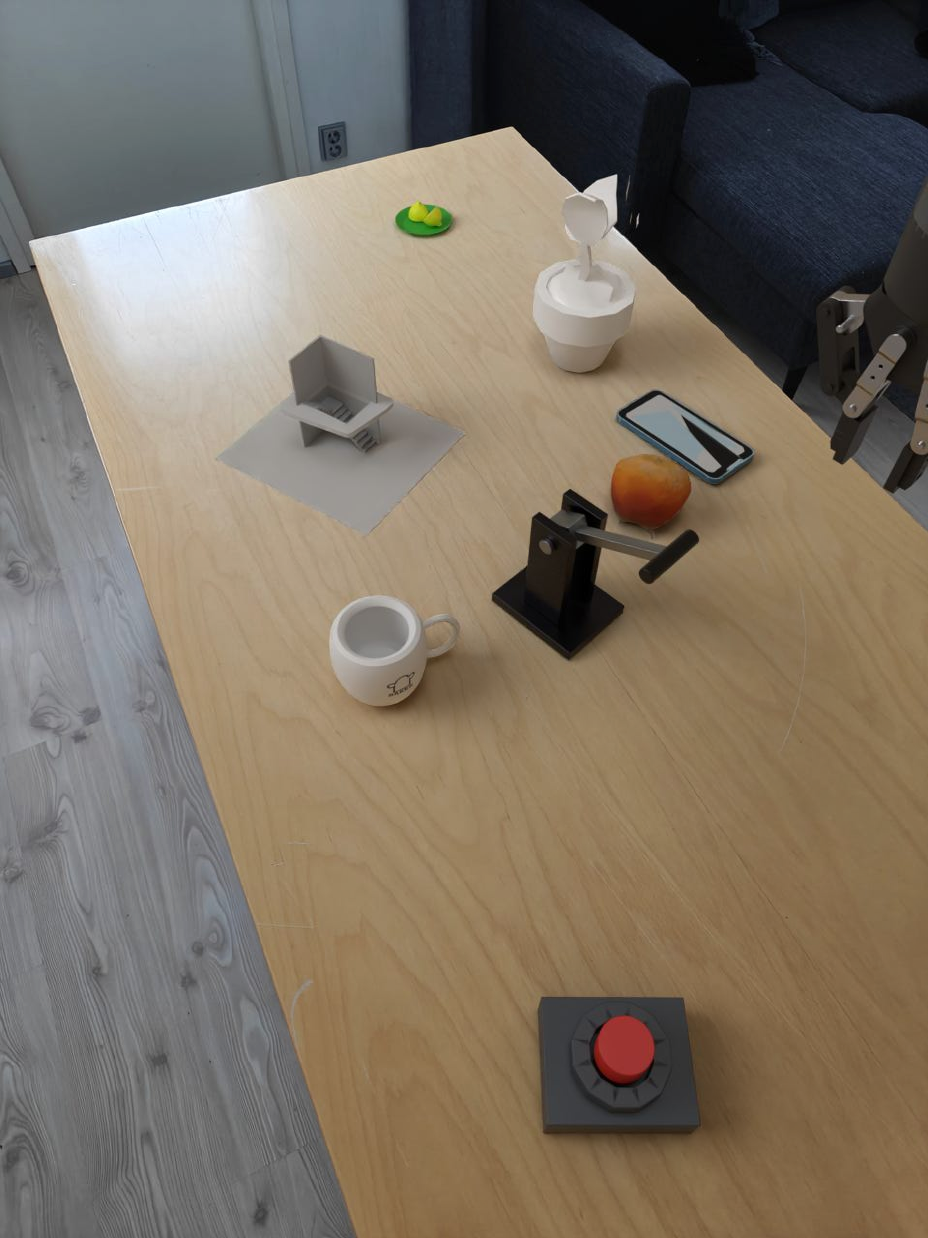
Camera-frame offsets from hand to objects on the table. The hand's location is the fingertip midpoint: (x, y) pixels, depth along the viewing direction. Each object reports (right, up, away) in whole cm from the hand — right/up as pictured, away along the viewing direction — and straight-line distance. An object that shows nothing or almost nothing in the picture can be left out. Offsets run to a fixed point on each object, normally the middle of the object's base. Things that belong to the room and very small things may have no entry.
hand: (870, 469), depth 60 cm
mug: (-32, -15, +25) cm, 43 cm away
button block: (-16, -41, +5) cm, 44 cm away
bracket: (-17, -8, +30) cm, 36 cm away
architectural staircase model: (-40, +10, +44) cm, 60 cm away
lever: (-13, -4, +18) cm, 23 cm away
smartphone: (-2, +11, +45) cm, 46 cm away
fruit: (-7, +2, +38) cm, 39 cm away
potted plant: (-12, +22, +54) cm, 59 cm away
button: (-16, -38, +2) cm, 42 cm away
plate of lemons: (-32, +46, +71) cm, 91 cm away
